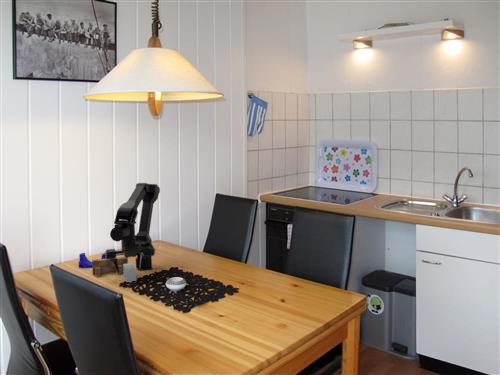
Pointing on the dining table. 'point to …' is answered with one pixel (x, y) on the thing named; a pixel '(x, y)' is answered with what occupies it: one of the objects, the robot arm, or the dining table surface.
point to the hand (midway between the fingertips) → (129, 272)
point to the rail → (129, 272)
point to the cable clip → (87, 261)
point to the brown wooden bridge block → (108, 266)
